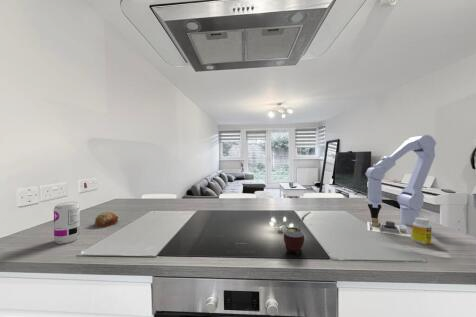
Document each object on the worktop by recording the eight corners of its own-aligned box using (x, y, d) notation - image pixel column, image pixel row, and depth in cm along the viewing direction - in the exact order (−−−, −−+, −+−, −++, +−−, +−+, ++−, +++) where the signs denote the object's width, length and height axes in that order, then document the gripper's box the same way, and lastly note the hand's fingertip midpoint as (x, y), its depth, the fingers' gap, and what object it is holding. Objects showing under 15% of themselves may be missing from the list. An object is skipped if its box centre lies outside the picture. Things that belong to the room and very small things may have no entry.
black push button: (385, 225, 95) (385, 220, 95) (394, 226, 93) (394, 221, 93) (386, 227, 92) (386, 222, 92) (395, 228, 90) (395, 223, 90)
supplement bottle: (428, 249, 77) (428, 221, 77) (409, 244, 81) (409, 218, 81) (433, 246, 80) (433, 219, 80) (415, 241, 84) (415, 215, 84)
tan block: (371, 224, 101) (371, 217, 101) (377, 224, 99) (377, 218, 99) (372, 225, 98) (372, 219, 98) (378, 226, 97) (378, 220, 97)
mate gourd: (280, 249, 77) (280, 208, 77) (298, 246, 80) (298, 206, 80) (292, 258, 70) (292, 213, 70) (311, 254, 73) (311, 211, 73)
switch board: (367, 224, 105) (367, 218, 105) (405, 230, 97) (405, 223, 97) (367, 233, 93) (367, 227, 93) (411, 240, 85) (411, 233, 85)
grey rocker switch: (398, 226, 94) (398, 224, 93) (405, 227, 92) (405, 225, 92) (400, 230, 90) (400, 228, 90) (407, 231, 89) (407, 229, 88)
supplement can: (54, 246, 80) (53, 207, 80) (54, 239, 86) (53, 203, 86) (80, 240, 85) (80, 203, 85) (78, 235, 92) (78, 200, 91)
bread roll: (97, 230, 108) (88, 217, 106) (117, 218, 114) (109, 205, 112) (100, 235, 101) (92, 222, 98) (122, 222, 107) (114, 209, 105)
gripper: (365, 189, 112) (364, 214, 112) (365, 193, 99) (364, 221, 99) (381, 190, 108) (380, 216, 108) (383, 194, 95) (383, 224, 96)
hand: (374, 219), depth 103 cm, fingers closed
